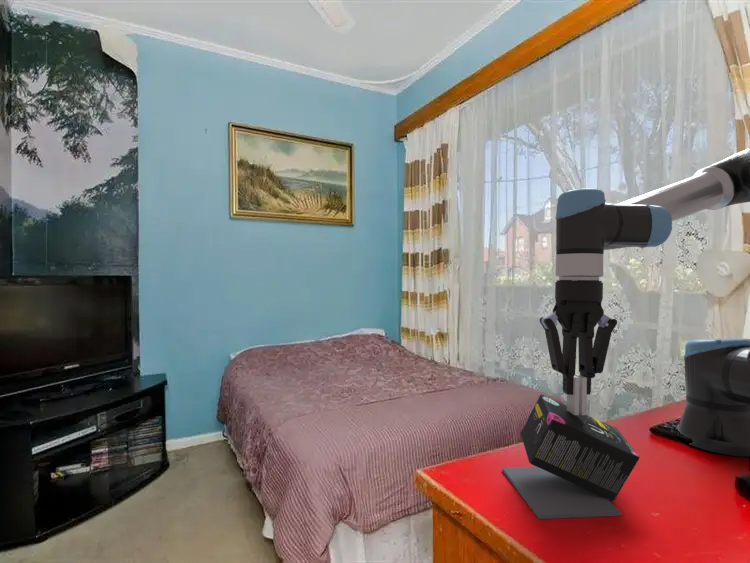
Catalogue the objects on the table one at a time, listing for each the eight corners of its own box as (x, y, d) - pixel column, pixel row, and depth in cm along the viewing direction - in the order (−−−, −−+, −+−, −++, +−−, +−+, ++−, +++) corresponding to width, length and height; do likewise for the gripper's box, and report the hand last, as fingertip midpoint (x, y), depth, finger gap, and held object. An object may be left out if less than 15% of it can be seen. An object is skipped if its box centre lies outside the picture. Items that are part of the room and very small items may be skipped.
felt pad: (568, 468, 79) (568, 465, 79) (621, 515, 63) (621, 511, 63) (502, 470, 78) (502, 467, 78) (539, 519, 62) (538, 515, 62)
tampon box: (642, 457, 65) (553, 417, 66) (614, 504, 66) (528, 464, 68) (615, 425, 75) (539, 392, 77) (592, 466, 77) (518, 432, 79)
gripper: (603, 279, 75) (601, 405, 76) (531, 278, 75) (529, 405, 75) (630, 279, 68) (627, 420, 68) (550, 278, 67) (548, 419, 68)
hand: (576, 412), depth 72 cm, fingers closed
